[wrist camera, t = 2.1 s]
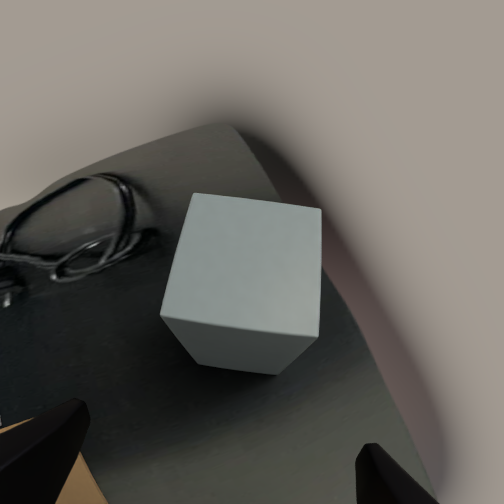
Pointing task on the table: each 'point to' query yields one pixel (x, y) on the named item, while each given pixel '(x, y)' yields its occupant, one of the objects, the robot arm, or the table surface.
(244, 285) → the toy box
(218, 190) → the table surface
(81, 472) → the cork mat
